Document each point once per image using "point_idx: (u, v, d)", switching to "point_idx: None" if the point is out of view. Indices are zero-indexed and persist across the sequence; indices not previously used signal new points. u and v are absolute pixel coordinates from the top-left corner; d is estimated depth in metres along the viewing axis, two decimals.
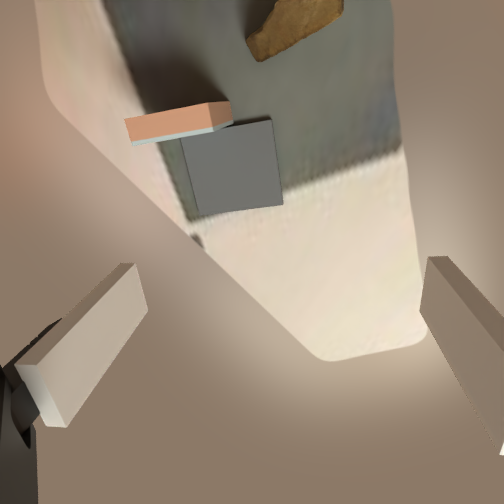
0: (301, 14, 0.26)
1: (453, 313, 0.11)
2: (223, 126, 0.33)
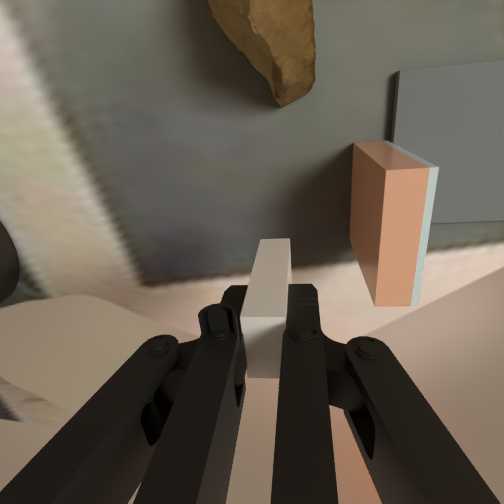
0: None
1: None
2: (408, 152, 0.20)
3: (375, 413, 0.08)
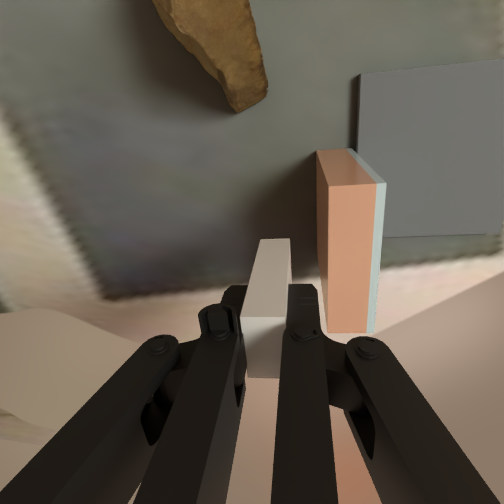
0: None
1: None
2: (364, 163, 0.18)
3: (375, 413, 0.08)
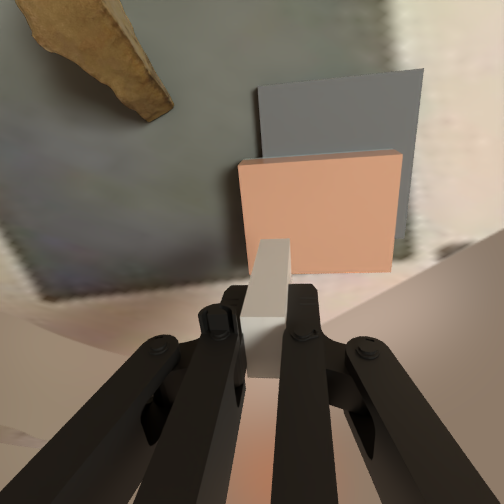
0: None
1: None
2: (324, 153, 0.22)
3: (375, 413, 0.08)
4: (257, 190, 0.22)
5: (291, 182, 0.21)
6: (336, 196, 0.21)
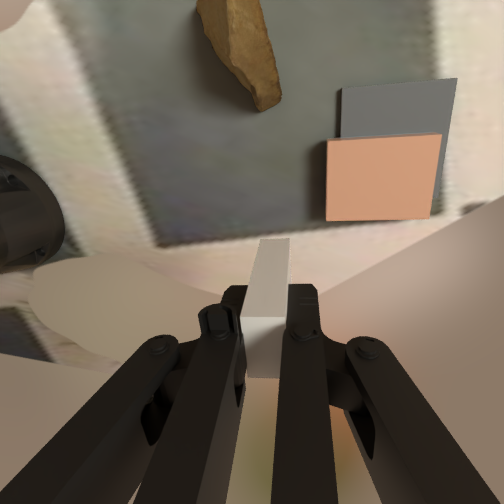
0: (245, 31, 0.24)
1: None
2: None
3: (375, 413, 0.08)
4: (339, 158, 0.32)
5: (363, 153, 0.31)
6: (394, 163, 0.31)
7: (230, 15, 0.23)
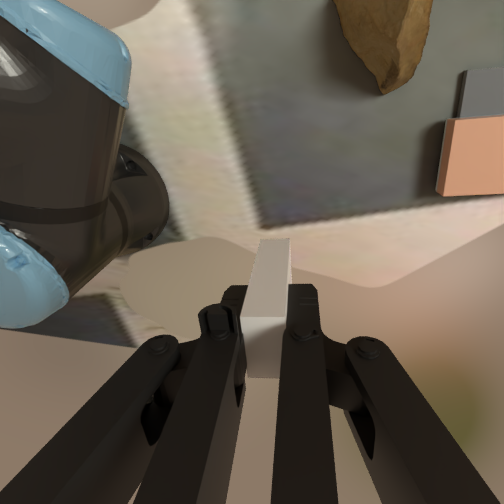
0: (416, 15, 0.26)
1: None
2: None
3: (375, 413, 0.08)
4: (464, 136, 0.34)
5: (488, 130, 0.34)
6: None
7: (412, 0, 0.25)
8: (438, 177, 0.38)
